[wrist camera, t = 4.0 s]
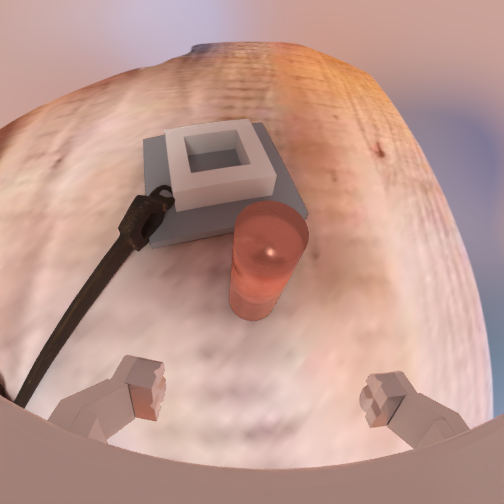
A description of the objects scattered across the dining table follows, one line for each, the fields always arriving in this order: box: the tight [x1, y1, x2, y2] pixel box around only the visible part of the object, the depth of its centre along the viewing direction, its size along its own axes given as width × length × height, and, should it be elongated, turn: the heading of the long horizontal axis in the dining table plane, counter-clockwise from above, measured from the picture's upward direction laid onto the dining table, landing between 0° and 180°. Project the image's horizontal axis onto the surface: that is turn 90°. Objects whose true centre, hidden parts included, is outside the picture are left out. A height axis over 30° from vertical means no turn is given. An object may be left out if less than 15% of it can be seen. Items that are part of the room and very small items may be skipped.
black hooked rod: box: [0, 185, 175, 409], centre depth 20 cm, size 5×5×30 cm
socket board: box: [143, 119, 308, 249], centre depth 29 cm, size 16×16×4 cm
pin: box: [229, 201, 309, 321], centre depth 20 cm, size 4×4×11 cm
